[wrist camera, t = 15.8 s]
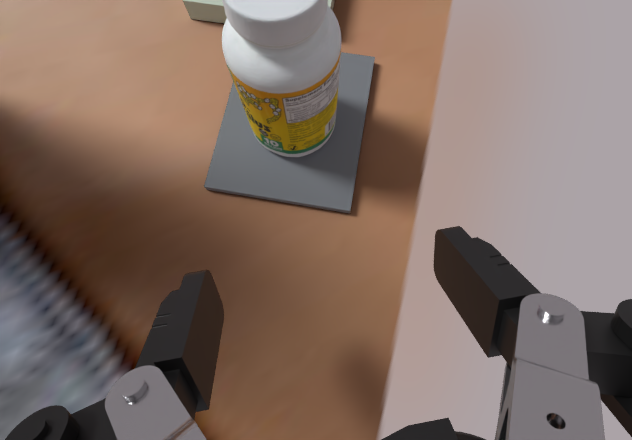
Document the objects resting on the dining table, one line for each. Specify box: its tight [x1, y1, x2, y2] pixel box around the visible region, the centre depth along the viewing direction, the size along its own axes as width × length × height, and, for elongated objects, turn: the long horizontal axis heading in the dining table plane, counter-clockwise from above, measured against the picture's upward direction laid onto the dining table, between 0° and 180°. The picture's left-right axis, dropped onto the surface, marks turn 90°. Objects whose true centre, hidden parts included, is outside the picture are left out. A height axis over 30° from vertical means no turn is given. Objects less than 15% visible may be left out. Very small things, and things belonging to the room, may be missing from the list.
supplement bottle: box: [222, 0, 341, 157], centre depth 17 cm, size 5×5×10 cm
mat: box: [204, 52, 375, 213], centre depth 22 cm, size 11×9×1 cm
